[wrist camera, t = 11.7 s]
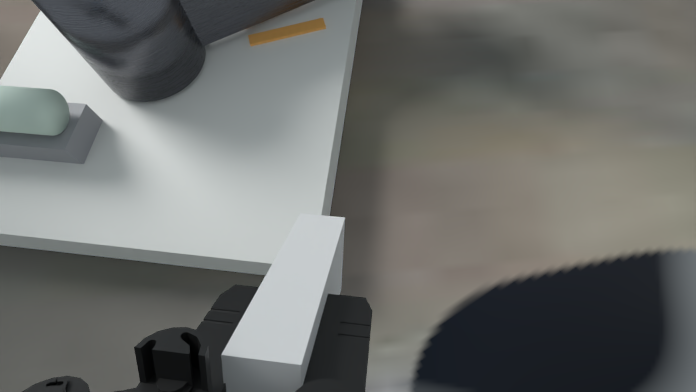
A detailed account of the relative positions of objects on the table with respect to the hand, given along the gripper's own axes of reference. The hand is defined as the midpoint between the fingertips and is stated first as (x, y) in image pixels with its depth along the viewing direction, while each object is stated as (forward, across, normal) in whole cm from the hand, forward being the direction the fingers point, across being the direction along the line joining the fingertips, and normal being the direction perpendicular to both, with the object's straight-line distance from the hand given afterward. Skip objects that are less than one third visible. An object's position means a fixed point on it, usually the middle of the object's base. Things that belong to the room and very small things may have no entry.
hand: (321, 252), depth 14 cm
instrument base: (+16, -13, +2) cm, 21 cm away
